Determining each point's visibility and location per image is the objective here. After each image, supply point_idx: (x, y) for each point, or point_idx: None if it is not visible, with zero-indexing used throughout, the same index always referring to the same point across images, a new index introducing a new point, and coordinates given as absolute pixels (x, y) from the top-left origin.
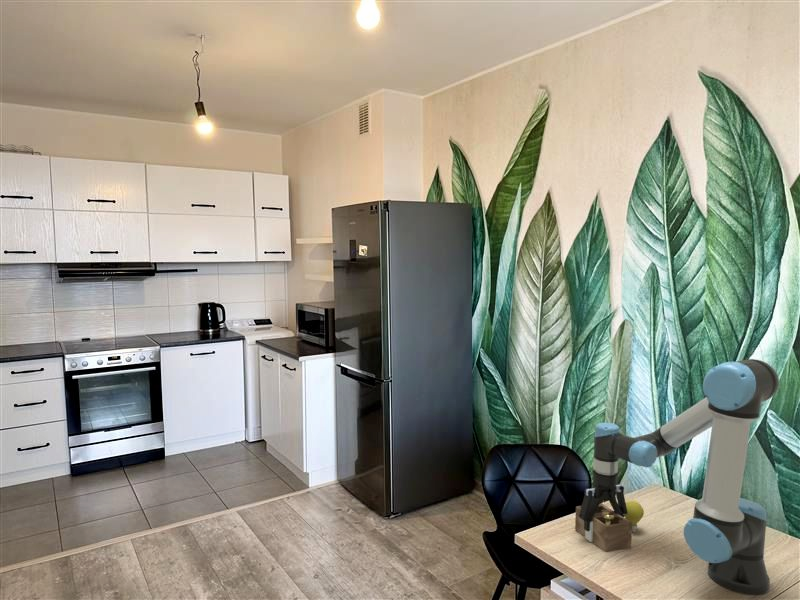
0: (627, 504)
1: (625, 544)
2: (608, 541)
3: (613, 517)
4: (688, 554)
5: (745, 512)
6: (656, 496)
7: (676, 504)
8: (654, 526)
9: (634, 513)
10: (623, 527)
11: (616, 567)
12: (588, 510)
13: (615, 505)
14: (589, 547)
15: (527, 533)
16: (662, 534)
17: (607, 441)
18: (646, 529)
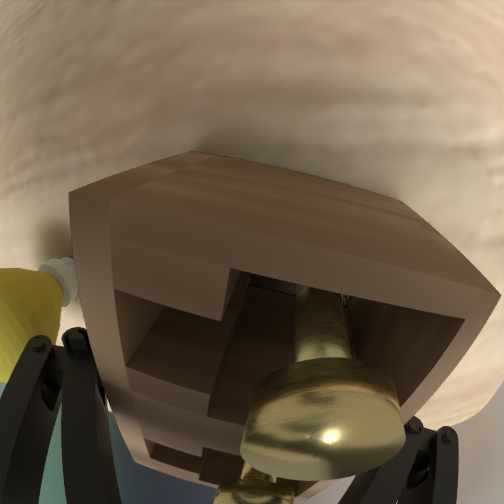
0: (5, 373)
1: (233, 162)
2: (406, 215)
3: (296, 393)
4: (35, 23)
5: None
6: None
7: None
8: (2, 242)
9: (3, 304)
10: (227, 203)
11: (476, 69)
12: (438, 498)
13: (95, 464)
14: None
15: (453, 422)
16: (4, 186)
17: None
18: (26, 243)
